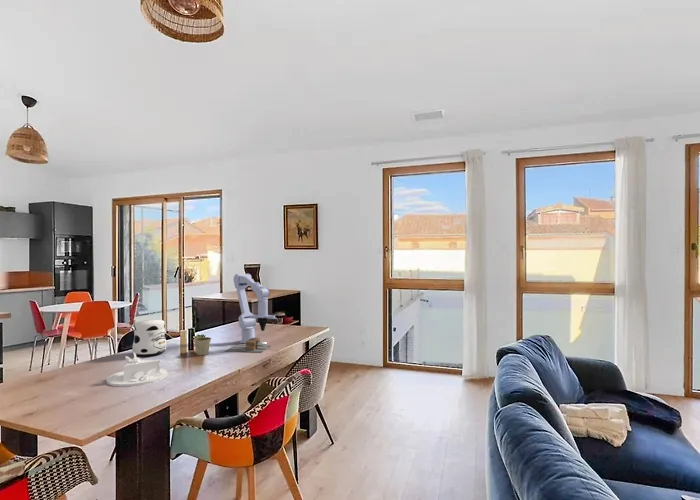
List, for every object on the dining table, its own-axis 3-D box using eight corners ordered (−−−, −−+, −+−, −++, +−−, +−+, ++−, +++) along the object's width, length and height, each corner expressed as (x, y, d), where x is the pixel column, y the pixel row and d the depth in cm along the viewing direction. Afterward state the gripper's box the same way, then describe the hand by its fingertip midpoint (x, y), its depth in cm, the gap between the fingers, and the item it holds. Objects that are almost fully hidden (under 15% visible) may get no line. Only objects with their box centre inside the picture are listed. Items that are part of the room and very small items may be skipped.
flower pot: (207, 356, 225) (207, 340, 225) (190, 356, 225) (190, 340, 225) (213, 352, 234) (213, 337, 234) (197, 352, 234) (197, 337, 235)
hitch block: (235, 345, 251) (235, 336, 251) (270, 346, 249) (270, 337, 249) (224, 351, 235) (224, 341, 235) (261, 352, 233) (261, 342, 233)
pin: (248, 346, 244) (248, 339, 244) (267, 347, 243) (267, 340, 243) (246, 348, 240) (246, 341, 240) (265, 348, 239) (265, 341, 239)
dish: (98, 389, 172) (98, 362, 172) (116, 372, 196) (116, 349, 196) (161, 384, 178) (161, 358, 178) (171, 368, 202) (171, 345, 202)
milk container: (165, 356, 226) (165, 323, 226) (130, 359, 219) (130, 325, 219) (167, 349, 242) (167, 318, 242) (134, 351, 235) (134, 320, 235)
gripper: (249, 308, 244) (249, 331, 244) (272, 309, 242) (272, 332, 242) (253, 307, 251) (253, 329, 251) (276, 307, 249) (276, 329, 249)
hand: (262, 330), depth 247 cm, fingers closed
